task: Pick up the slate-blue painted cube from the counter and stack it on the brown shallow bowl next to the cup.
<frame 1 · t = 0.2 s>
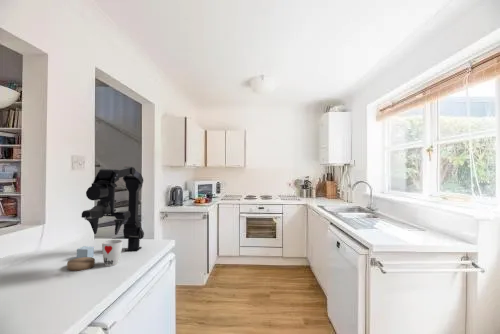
hand: (105, 234, 113), 14 cm above the countertop, tool pointing down, fingers open, 9 cm apart
brown shallow bowl: (81, 266, 113), on the countertop
cup: (111, 264, 117), on the countertop
block: (85, 258, 124), on the countertop
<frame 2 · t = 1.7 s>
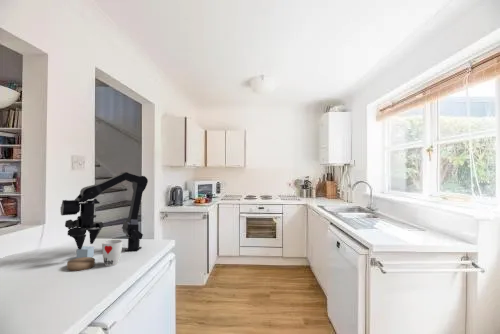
hand: (85, 246, 124), 5 cm above the countertop, tool pointing down, fingers open, 9 cm apart
nothing on the countertop moved.
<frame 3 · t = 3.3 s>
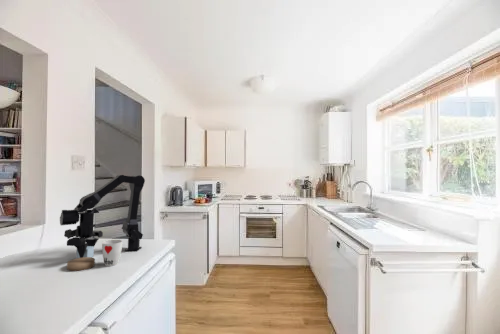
hand: (85, 256, 124), 1 cm above the countertop, tool pointing down, fingers closed on block, 5 cm apart
block: (85, 258, 124), on the countertop, touching gripper
everything else where it was.
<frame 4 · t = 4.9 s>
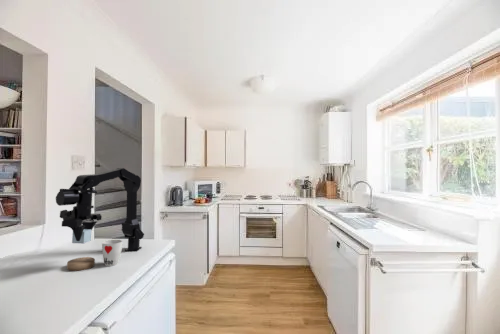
hand: (81, 239, 115), 11 cm above the countertop, tool pointing down, fingers closed on block, 5 cm apart
block: (81, 241, 115), point 10 cm above the countertop, touching gripper
everything else where it was.
when the fingers open (4 cm above the countertop, at t = 7.0 s): block stays where it is, resting on brown shallow bowl.
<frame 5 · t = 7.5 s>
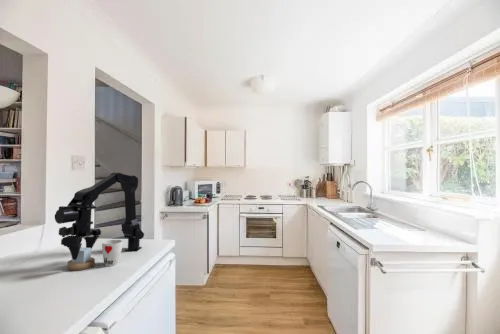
hand: (81, 256, 113), 4 cm above the countertop, tool pointing down, fingers open, 9 cm apart
block: (81, 260, 113), point 2 cm above the countertop, touching brown shallow bowl
everything else where it was.
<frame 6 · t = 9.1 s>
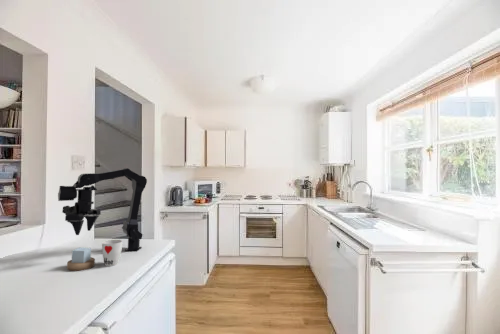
hand: (83, 232, 125), 12 cm above the countertop, tool pointing down, fingers open, 9 cm apart
nothing on the countertop moved.
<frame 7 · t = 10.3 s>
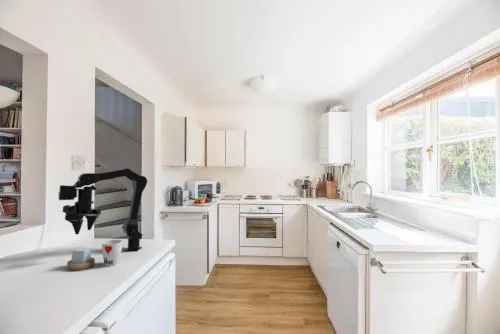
hand: (83, 232, 125), 12 cm above the countertop, tool pointing down, fingers open, 9 cm apart
nothing on the countertop moved.
at the end: block 0.1 cm off-centre on the brown shallow bowl, point 2.5 cm above the brown shallow bowl's base; block tilted 0°; the gripper is holding nothing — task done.
